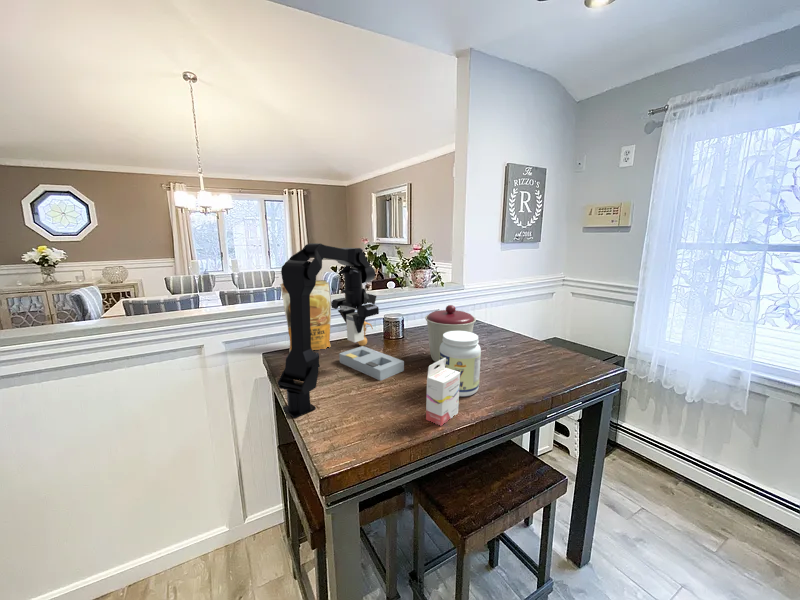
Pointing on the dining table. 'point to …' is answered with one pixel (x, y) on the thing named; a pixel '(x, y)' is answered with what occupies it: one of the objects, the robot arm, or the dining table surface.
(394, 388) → the dining table surface
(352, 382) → the dining table surface
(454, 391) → the ink cartridge box
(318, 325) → the pancake mix bag
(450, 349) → the supplement tub
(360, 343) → the figurine
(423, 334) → the dining table surface
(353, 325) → the plug
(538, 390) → the dining table surface
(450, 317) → the canister
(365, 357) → the socket block
